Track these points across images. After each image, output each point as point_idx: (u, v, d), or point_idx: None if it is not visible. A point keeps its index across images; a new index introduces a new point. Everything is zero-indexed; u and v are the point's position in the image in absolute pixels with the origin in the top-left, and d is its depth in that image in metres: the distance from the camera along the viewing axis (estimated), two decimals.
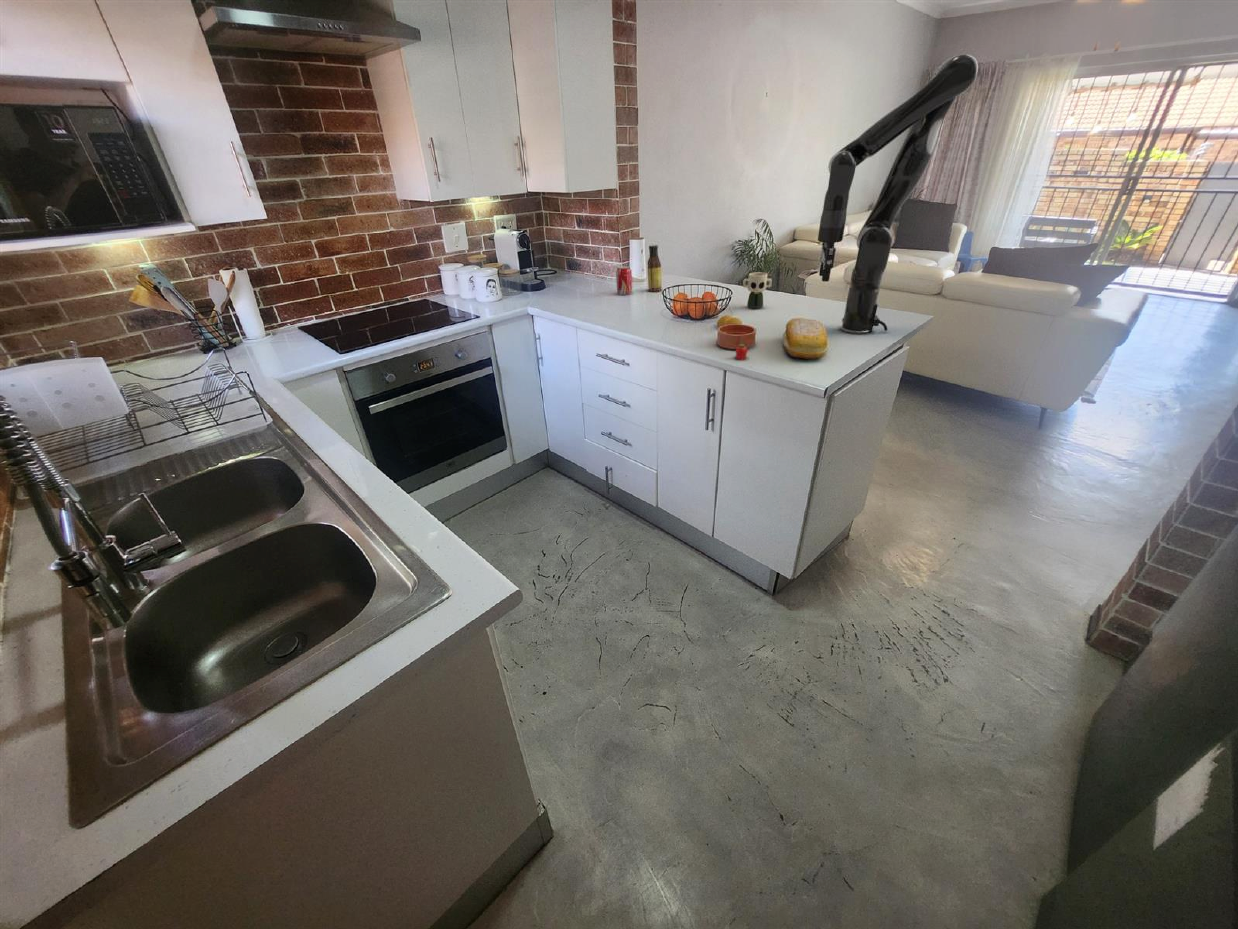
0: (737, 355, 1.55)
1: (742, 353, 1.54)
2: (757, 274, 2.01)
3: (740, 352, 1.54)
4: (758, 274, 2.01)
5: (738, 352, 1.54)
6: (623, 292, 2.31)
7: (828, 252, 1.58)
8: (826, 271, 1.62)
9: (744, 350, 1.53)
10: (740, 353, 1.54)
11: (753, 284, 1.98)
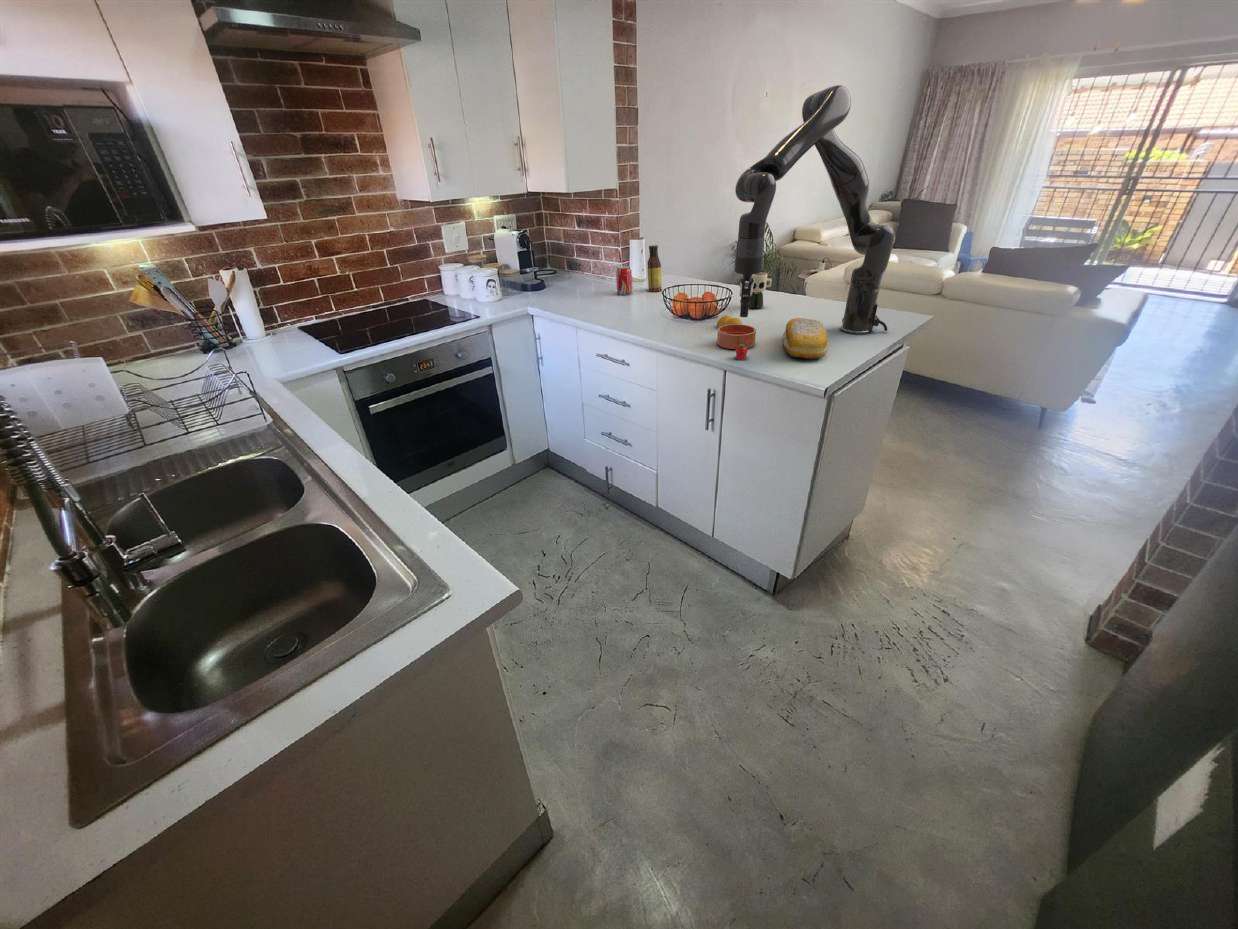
0: (737, 355, 1.55)
1: (742, 353, 1.54)
2: (757, 274, 2.01)
3: (740, 352, 1.54)
4: (758, 274, 2.01)
5: (738, 352, 1.54)
6: (623, 292, 2.31)
7: (743, 285, 1.39)
8: (743, 306, 1.43)
9: (744, 350, 1.53)
10: (740, 353, 1.54)
11: None
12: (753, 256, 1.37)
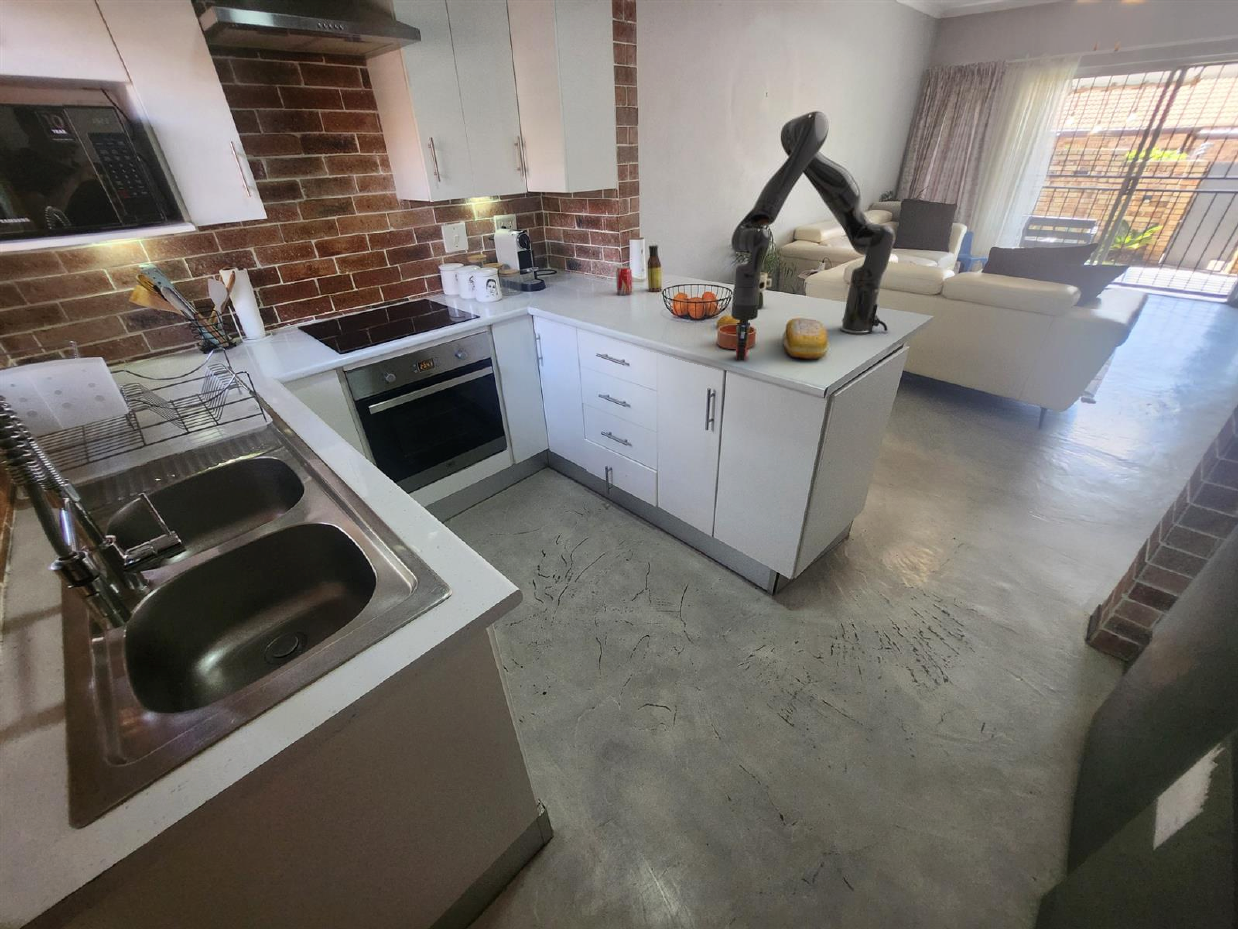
0: None
1: None
2: None
3: None
4: None
5: None
6: (623, 292, 2.31)
7: (739, 336, 1.47)
8: (740, 351, 1.52)
9: None
10: None
11: None
12: (749, 304, 1.44)
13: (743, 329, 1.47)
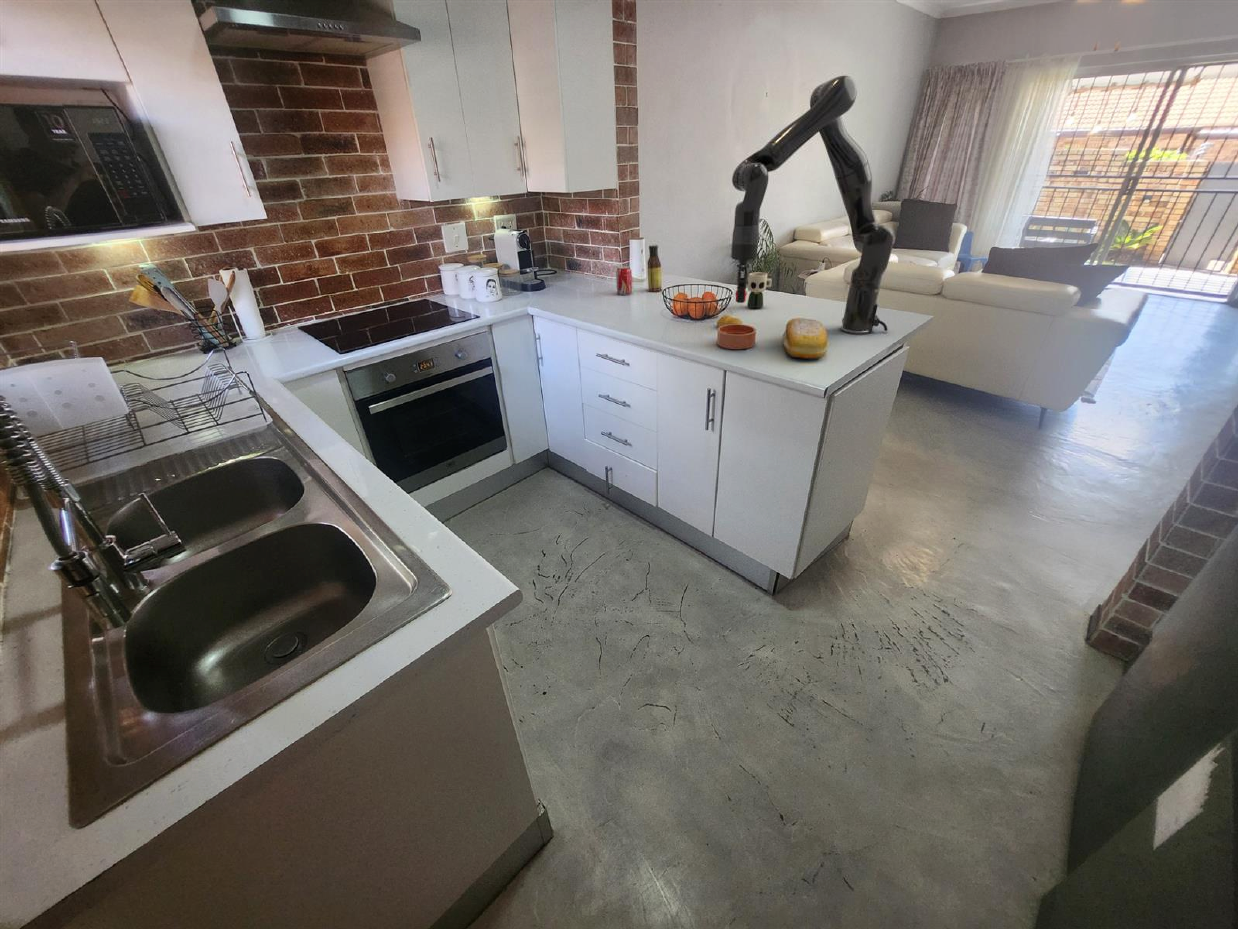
0: None
1: None
2: (757, 274, 2.01)
3: None
4: (758, 274, 2.01)
5: None
6: (623, 292, 2.31)
7: (739, 276, 1.48)
8: (740, 292, 1.54)
9: None
10: None
11: (753, 284, 1.98)
12: (749, 242, 1.45)
13: (743, 269, 1.48)
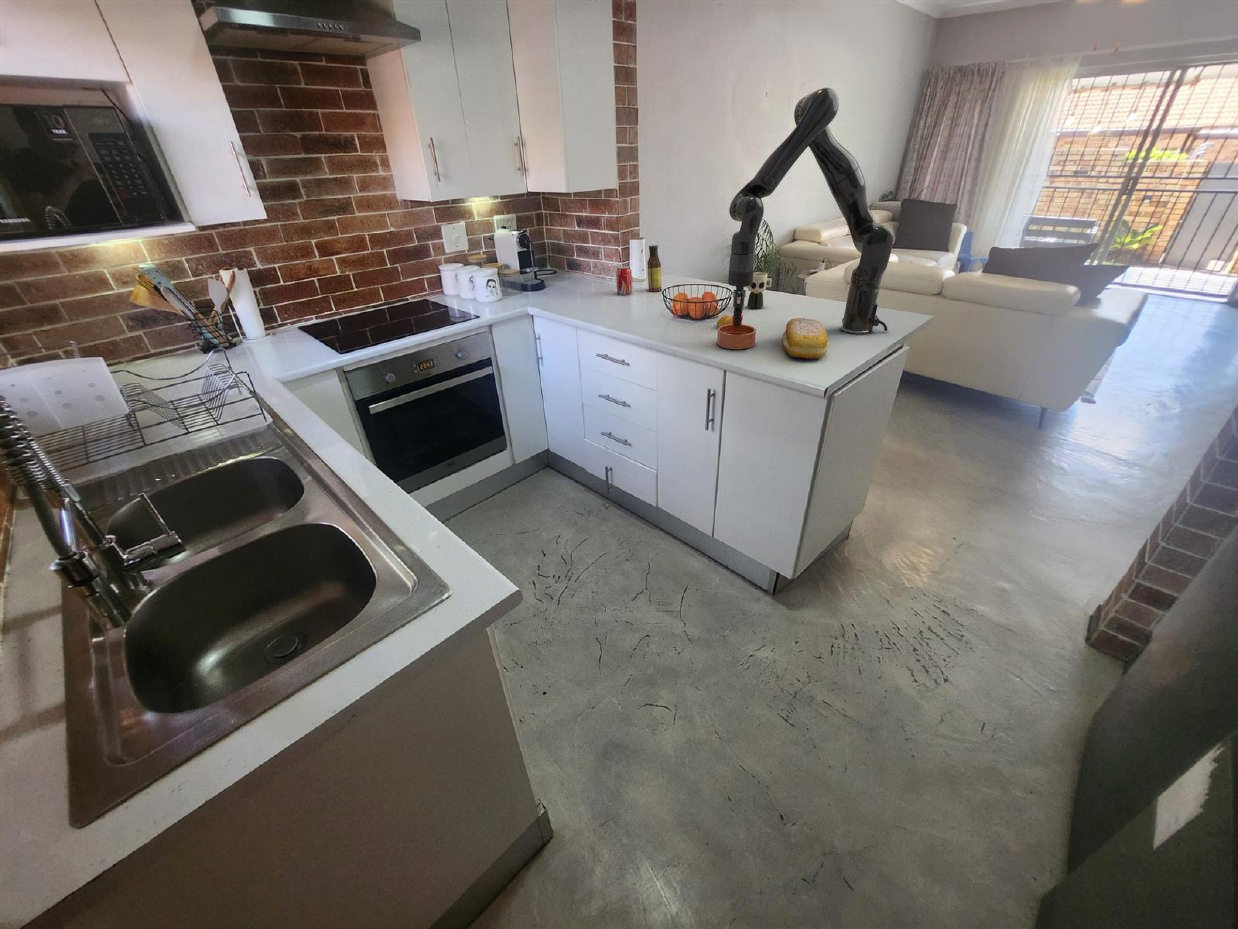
0: (733, 321, 1.63)
1: None
2: (757, 274, 2.01)
3: None
4: (758, 274, 2.01)
5: None
6: (623, 292, 2.31)
7: (736, 302, 1.54)
8: (736, 316, 1.60)
9: None
10: None
11: (753, 284, 1.98)
12: (745, 270, 1.52)
13: (739, 295, 1.54)
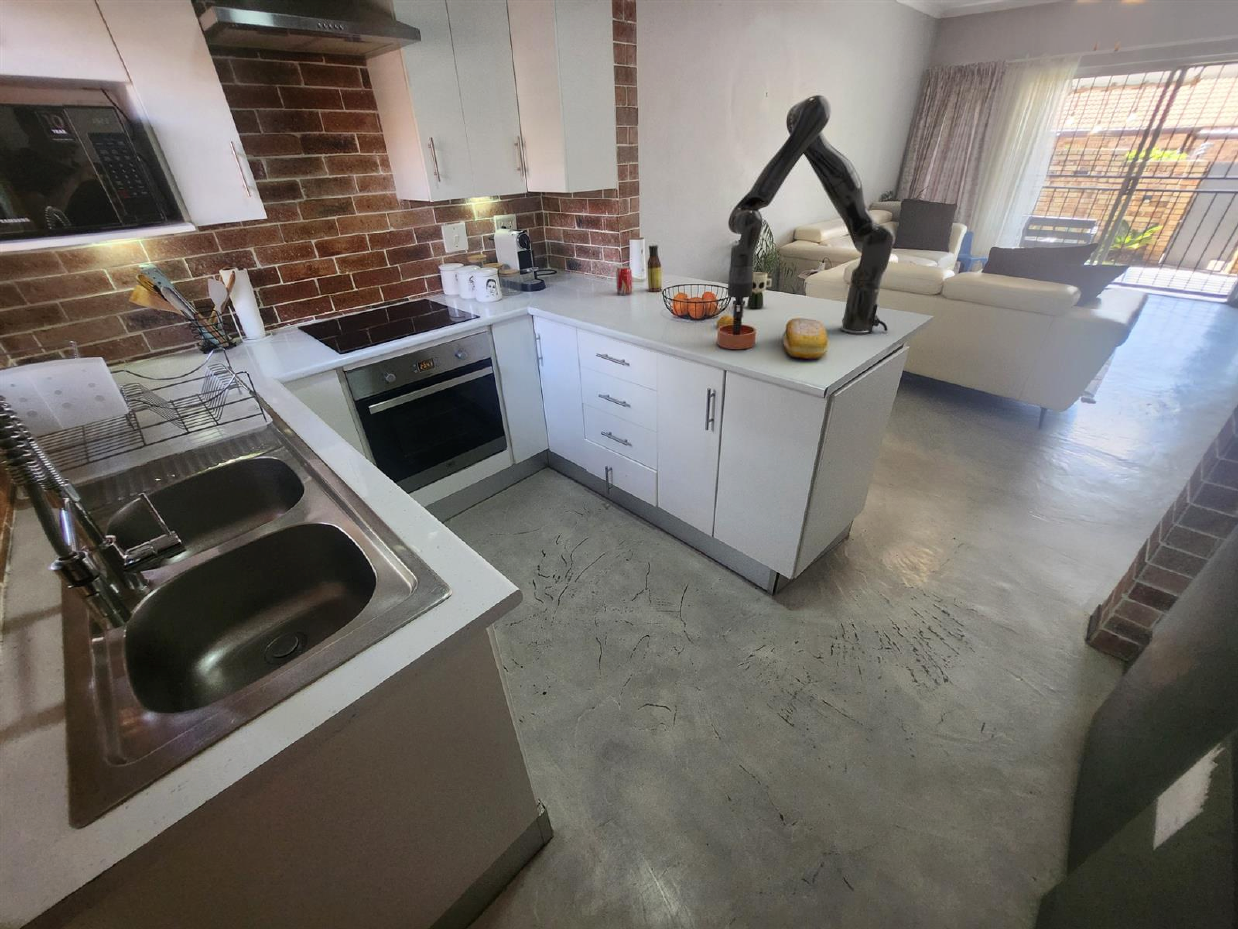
0: None
1: None
2: (757, 274, 2.01)
3: None
4: (758, 274, 2.01)
5: None
6: (623, 292, 2.31)
7: (735, 309, 1.55)
8: (736, 326, 1.60)
9: None
10: None
11: (753, 284, 1.98)
12: (744, 282, 1.53)
13: (739, 304, 1.56)
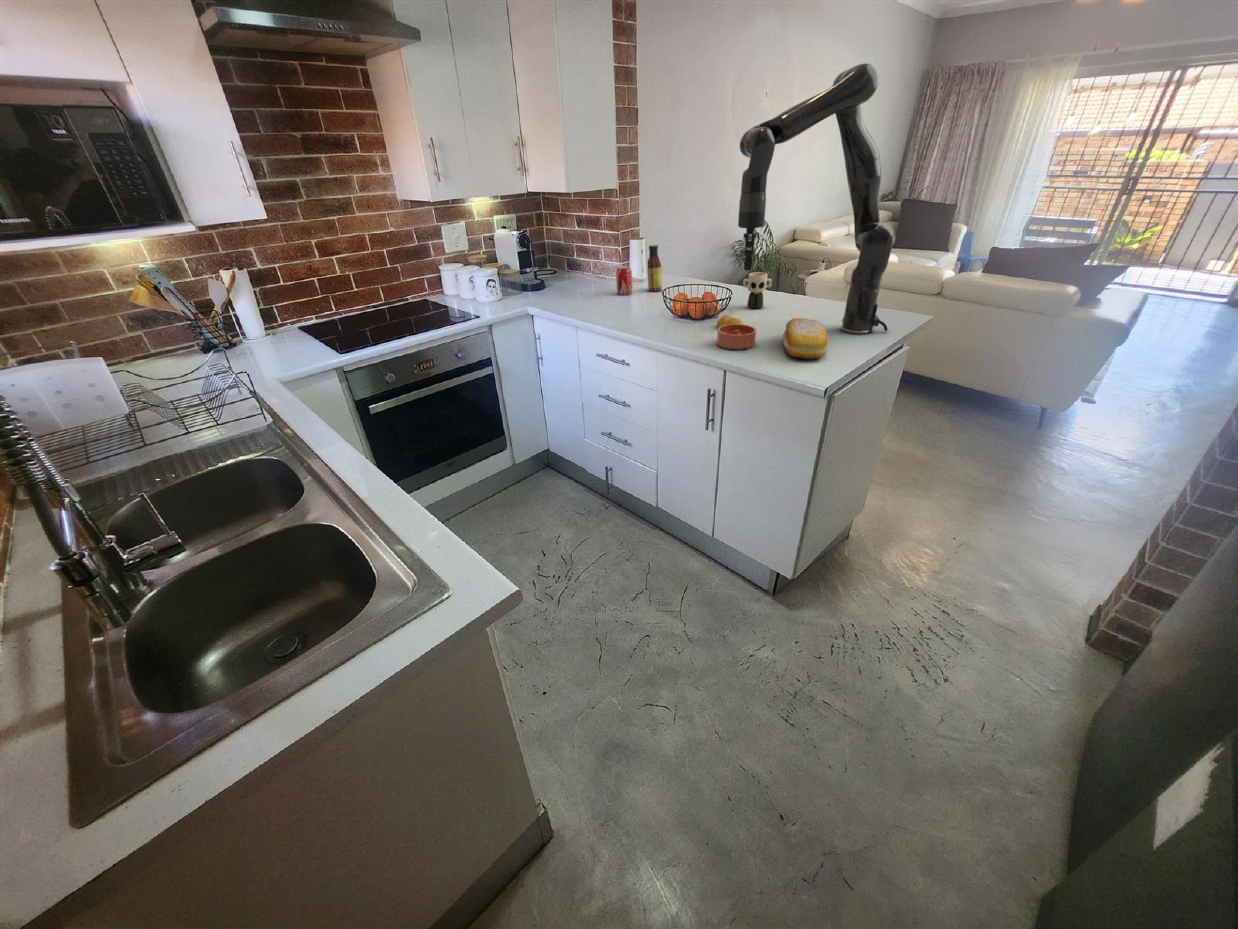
0: None
1: None
2: (757, 274, 2.01)
3: None
4: (758, 274, 2.01)
5: None
6: (623, 292, 2.31)
7: (747, 238, 1.46)
8: (747, 259, 1.51)
9: None
10: None
11: (753, 284, 1.98)
12: (756, 210, 1.45)
13: (750, 233, 1.47)
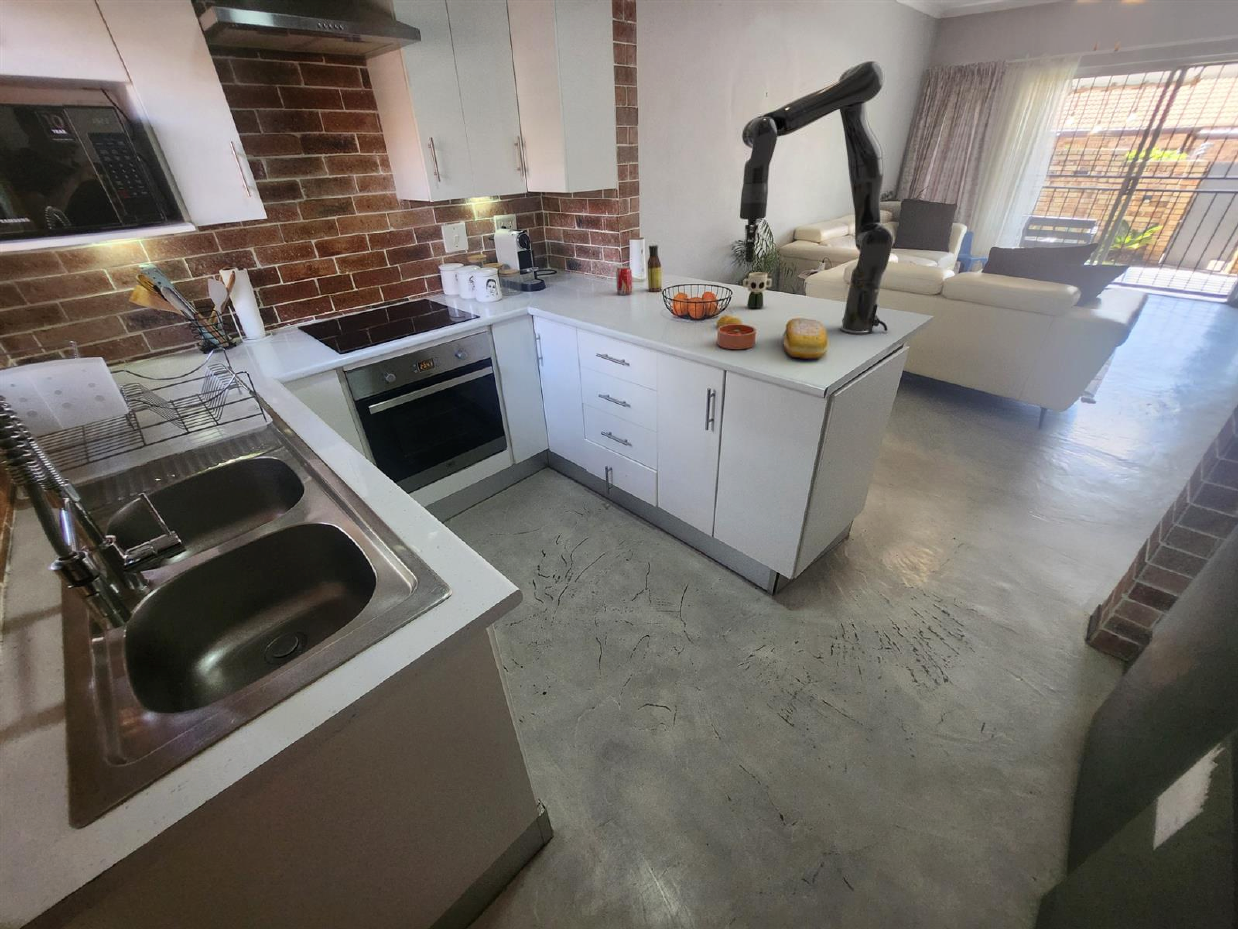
0: None
1: None
2: (757, 274, 2.01)
3: None
4: (758, 274, 2.01)
5: None
6: (623, 292, 2.31)
7: (748, 229, 1.45)
8: (749, 250, 1.50)
9: None
10: None
11: (753, 284, 1.98)
12: (758, 200, 1.44)
13: (752, 225, 1.46)
